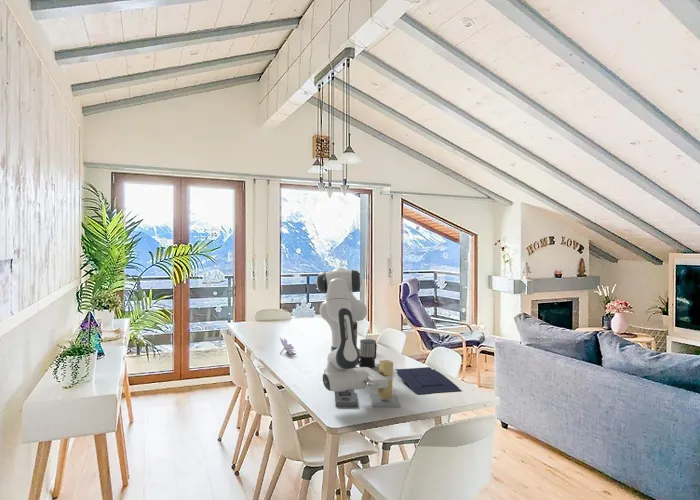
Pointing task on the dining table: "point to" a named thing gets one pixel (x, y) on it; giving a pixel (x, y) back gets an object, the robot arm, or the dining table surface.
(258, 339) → the dining table surface
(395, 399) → the grey mat
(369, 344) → the milk frother
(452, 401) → the dining table surface
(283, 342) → the purple daisy flower
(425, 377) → the navy flat rectangular piece
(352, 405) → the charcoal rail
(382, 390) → the brass peg
